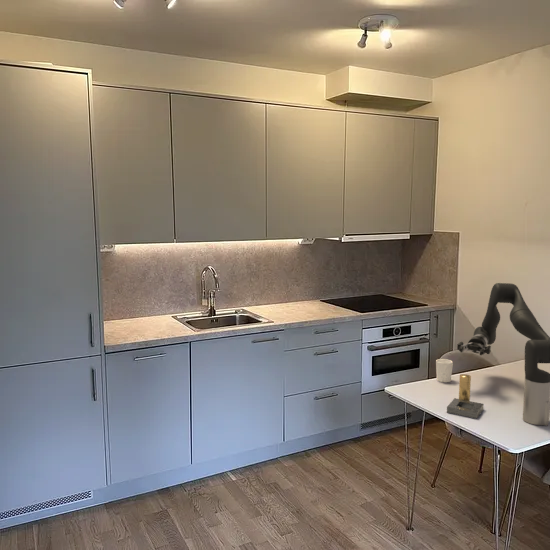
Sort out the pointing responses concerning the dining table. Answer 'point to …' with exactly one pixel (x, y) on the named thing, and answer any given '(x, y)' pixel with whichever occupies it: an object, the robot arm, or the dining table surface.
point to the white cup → (444, 370)
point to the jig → (465, 408)
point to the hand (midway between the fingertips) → (470, 351)
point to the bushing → (464, 387)
